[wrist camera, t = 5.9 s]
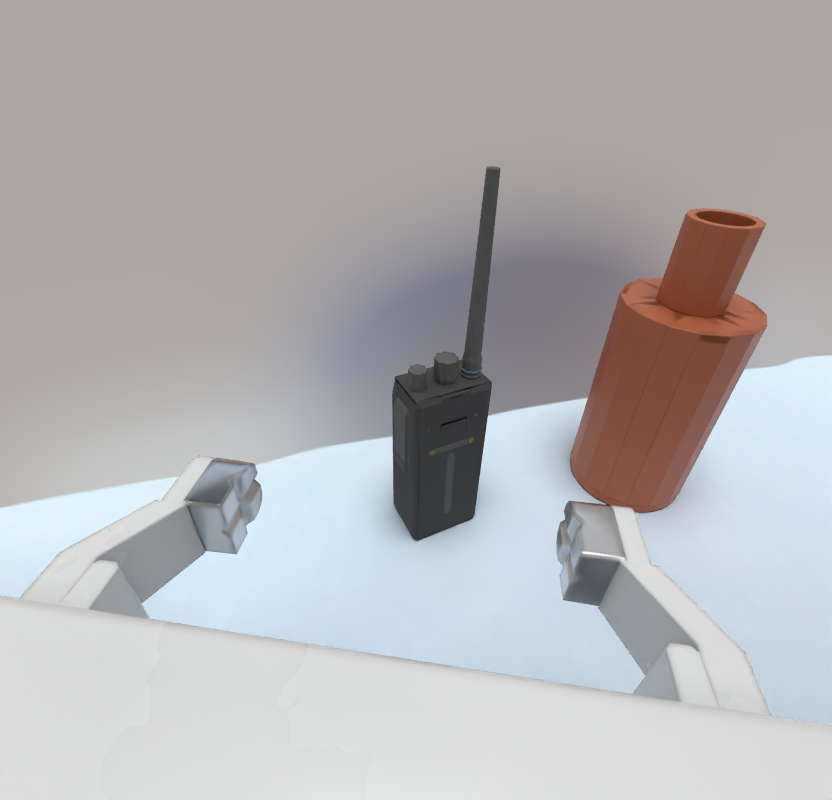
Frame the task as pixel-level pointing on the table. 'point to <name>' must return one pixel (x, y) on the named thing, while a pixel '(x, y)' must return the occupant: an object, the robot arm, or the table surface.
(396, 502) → the walkie-talkie
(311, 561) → the table surface
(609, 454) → the bottle
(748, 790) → the robot arm
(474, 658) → the table surface
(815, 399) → the table surface
